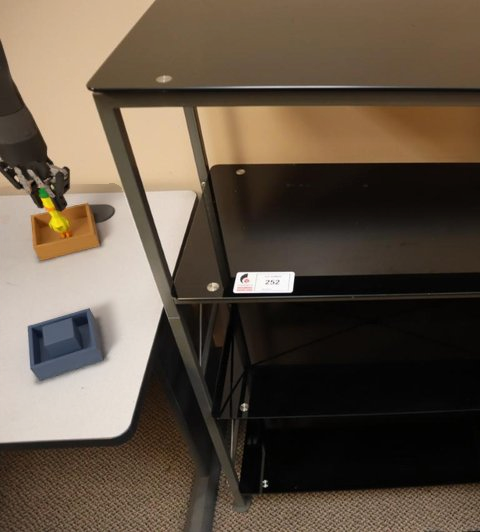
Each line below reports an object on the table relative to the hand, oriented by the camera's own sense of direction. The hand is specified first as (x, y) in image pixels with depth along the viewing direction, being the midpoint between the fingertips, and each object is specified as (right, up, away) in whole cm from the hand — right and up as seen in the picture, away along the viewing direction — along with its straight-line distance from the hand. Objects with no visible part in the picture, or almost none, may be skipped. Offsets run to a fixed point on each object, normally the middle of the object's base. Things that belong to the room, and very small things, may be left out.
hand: (52, 207), depth 102 cm
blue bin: (+12, -26, -13) cm, 32 cm away
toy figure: (-1, -5, +5) cm, 7 cm away
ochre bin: (-1, -6, +6) cm, 8 cm away
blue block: (+12, -26, -14) cm, 32 cm away
